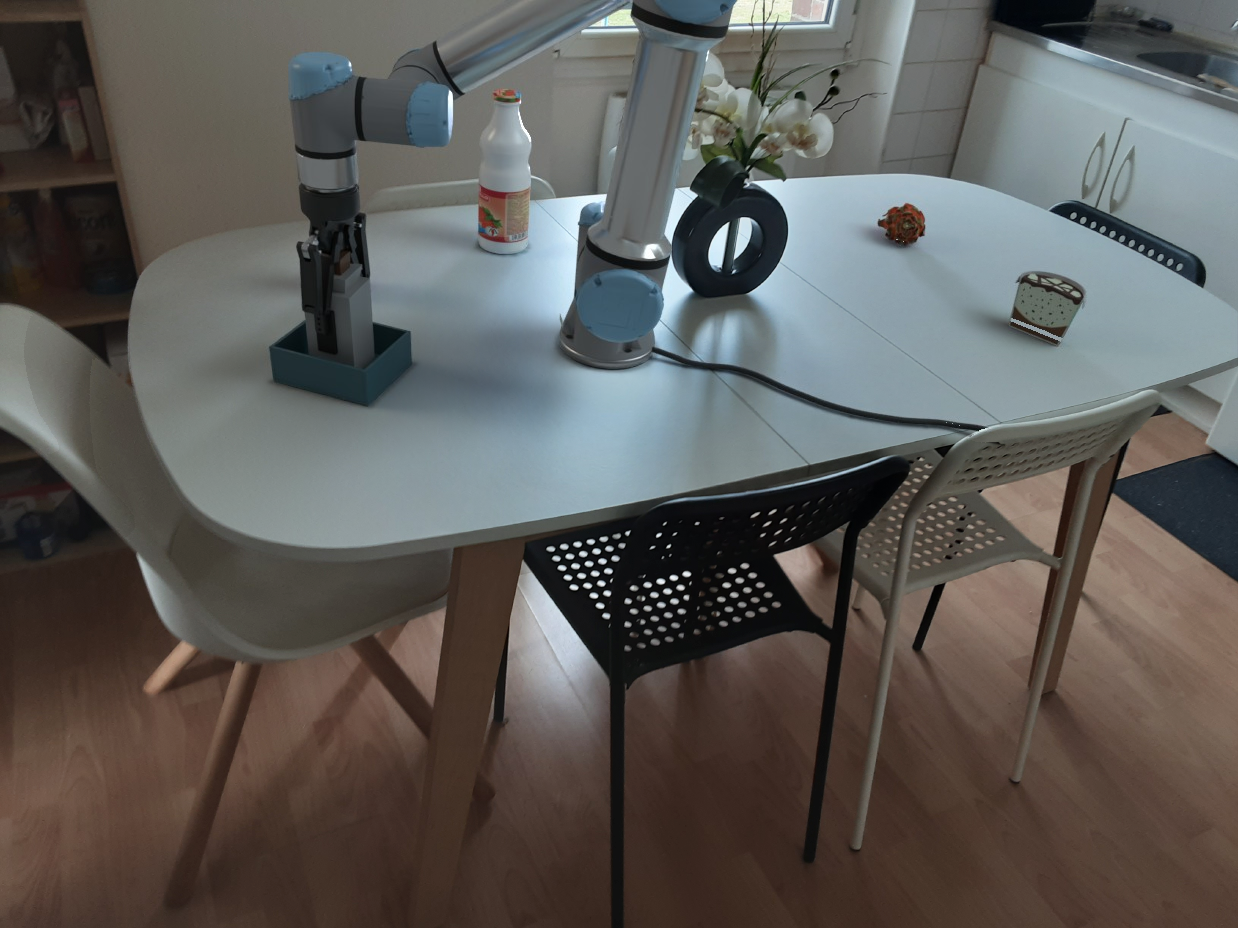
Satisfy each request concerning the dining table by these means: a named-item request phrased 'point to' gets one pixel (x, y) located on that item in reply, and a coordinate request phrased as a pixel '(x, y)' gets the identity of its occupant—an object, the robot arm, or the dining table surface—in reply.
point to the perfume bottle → (348, 317)
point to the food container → (1046, 303)
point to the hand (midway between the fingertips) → (341, 340)
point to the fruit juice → (504, 178)
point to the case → (342, 365)
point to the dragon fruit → (903, 224)
